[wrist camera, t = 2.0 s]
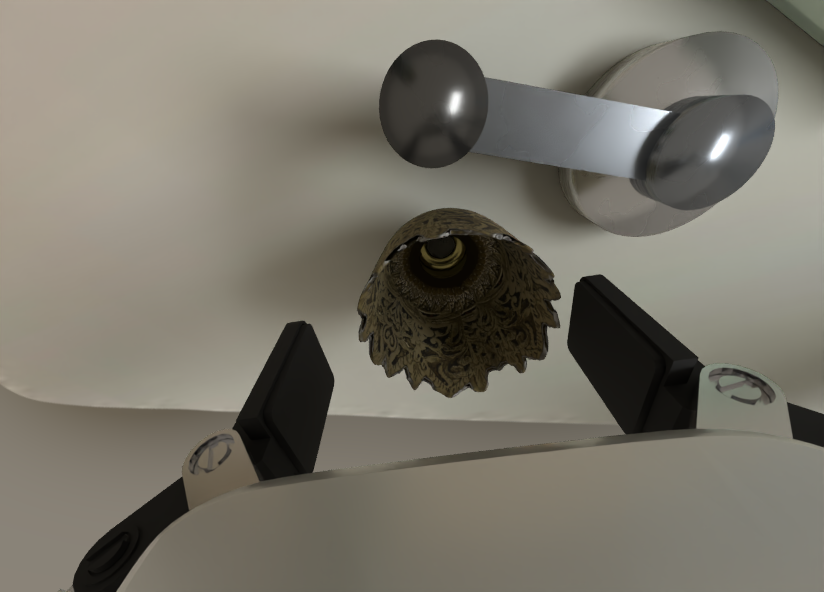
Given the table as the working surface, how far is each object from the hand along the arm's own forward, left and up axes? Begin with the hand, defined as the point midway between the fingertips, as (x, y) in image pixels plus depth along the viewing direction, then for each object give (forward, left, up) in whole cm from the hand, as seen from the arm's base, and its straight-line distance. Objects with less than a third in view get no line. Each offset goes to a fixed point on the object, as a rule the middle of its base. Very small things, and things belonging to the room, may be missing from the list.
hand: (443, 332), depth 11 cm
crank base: (-7, -9, -8) cm, 14 cm away
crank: (-2, -8, -6) cm, 10 cm away
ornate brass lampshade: (-1, 0, -8) cm, 8 cm away
